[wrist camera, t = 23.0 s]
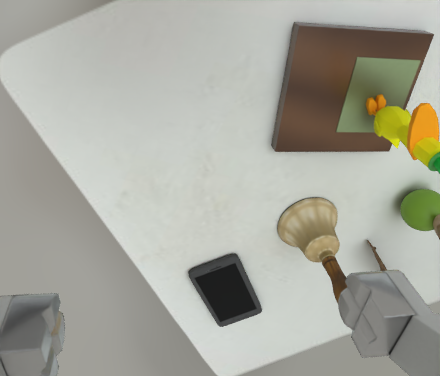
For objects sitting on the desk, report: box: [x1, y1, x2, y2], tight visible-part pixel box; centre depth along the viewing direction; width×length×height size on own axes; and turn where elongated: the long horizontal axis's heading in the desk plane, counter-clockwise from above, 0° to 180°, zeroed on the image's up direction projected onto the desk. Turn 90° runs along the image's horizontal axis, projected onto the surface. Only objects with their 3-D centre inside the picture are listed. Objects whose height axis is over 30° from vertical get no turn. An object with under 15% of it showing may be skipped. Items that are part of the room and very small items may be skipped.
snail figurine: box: [401, 189, 440, 239], centre depth 45 cm, size 5×6×12 cm
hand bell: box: [277, 198, 348, 305], centre depth 43 cm, size 8×8×16 cm
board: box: [272, 22, 434, 152], centre depth 39 cm, size 13×14×2 cm
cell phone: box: [188, 254, 262, 327], centre depth 54 cm, size 7×14×1 cm, turn 19°
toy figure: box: [366, 94, 440, 174], centre depth 35 cm, size 7×4×12 cm, turn 17°
